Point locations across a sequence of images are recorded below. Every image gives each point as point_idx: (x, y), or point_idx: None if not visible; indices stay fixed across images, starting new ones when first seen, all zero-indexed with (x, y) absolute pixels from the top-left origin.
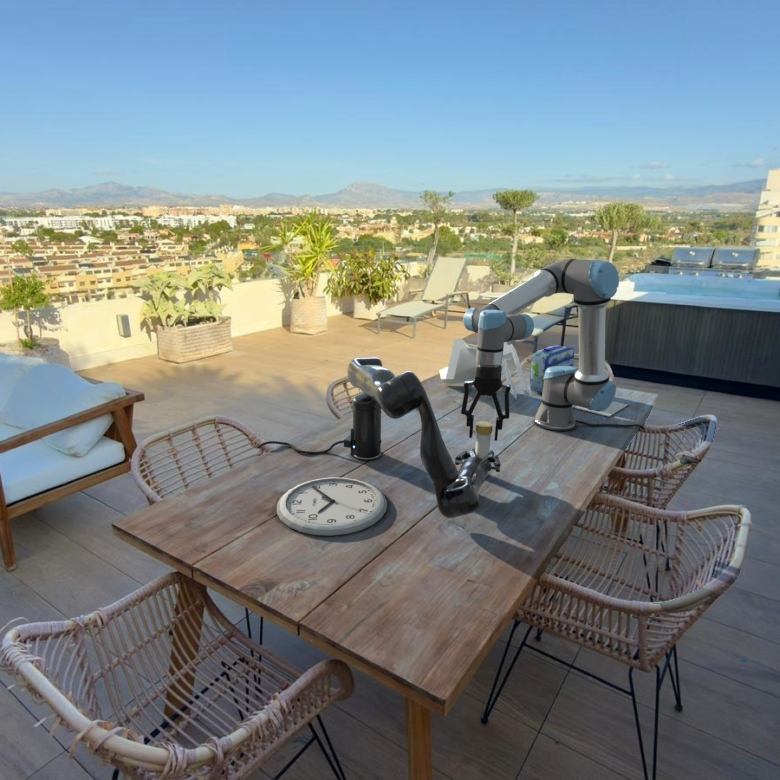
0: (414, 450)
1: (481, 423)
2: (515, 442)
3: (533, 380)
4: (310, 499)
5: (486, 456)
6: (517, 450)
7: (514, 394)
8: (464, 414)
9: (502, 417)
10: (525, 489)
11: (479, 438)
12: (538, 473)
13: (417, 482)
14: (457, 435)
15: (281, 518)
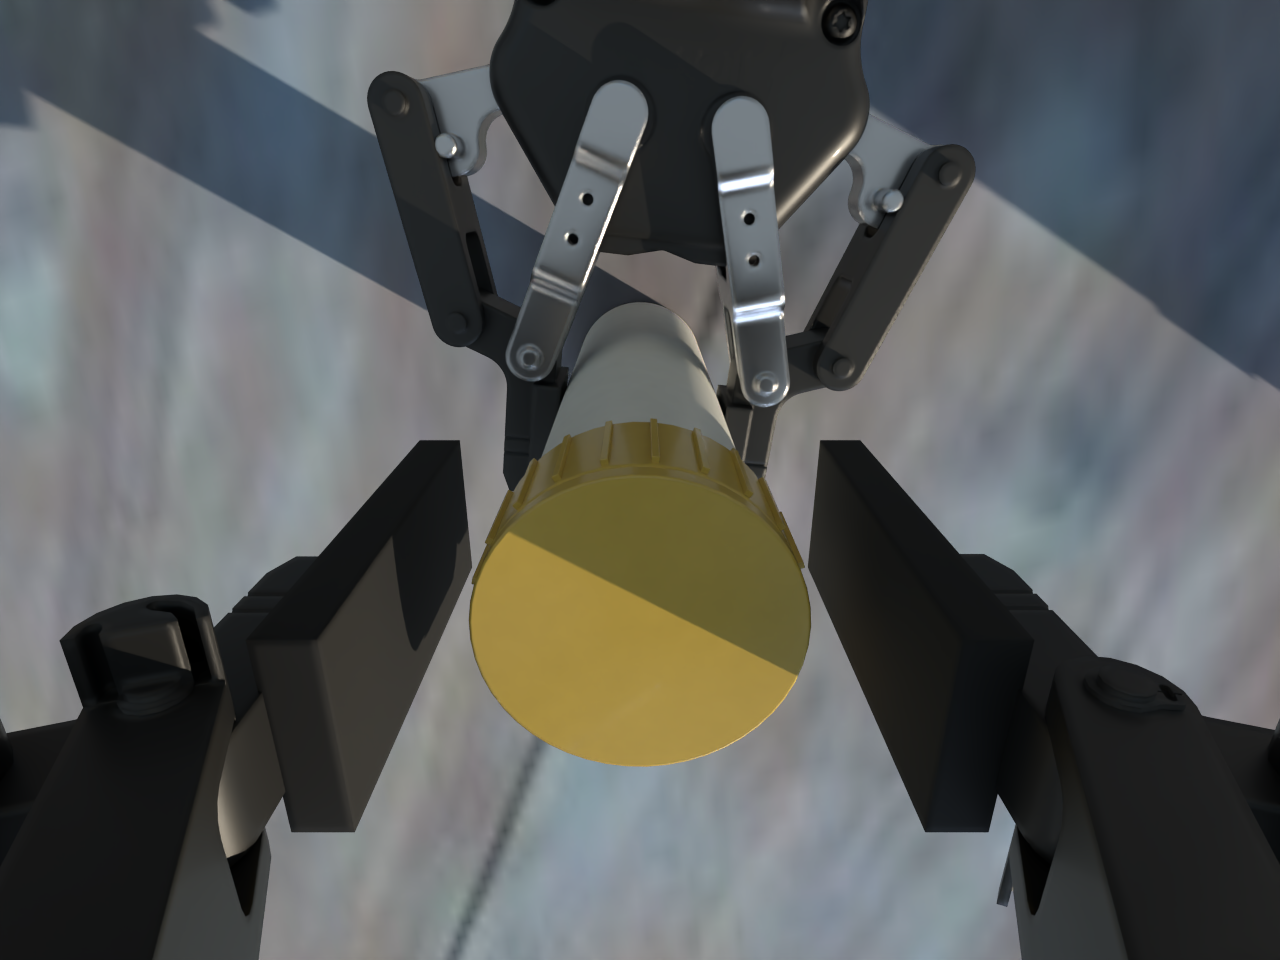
0: (1200, 657)
1: (703, 651)
2: (444, 939)
3: None
4: None
5: (570, 251)
6: (411, 836)
7: None
8: (1239, 729)
9: (83, 714)
10: (221, 186)
11: (696, 421)
12: (187, 520)
13: (1231, 26)
14: (854, 948)
15: None
